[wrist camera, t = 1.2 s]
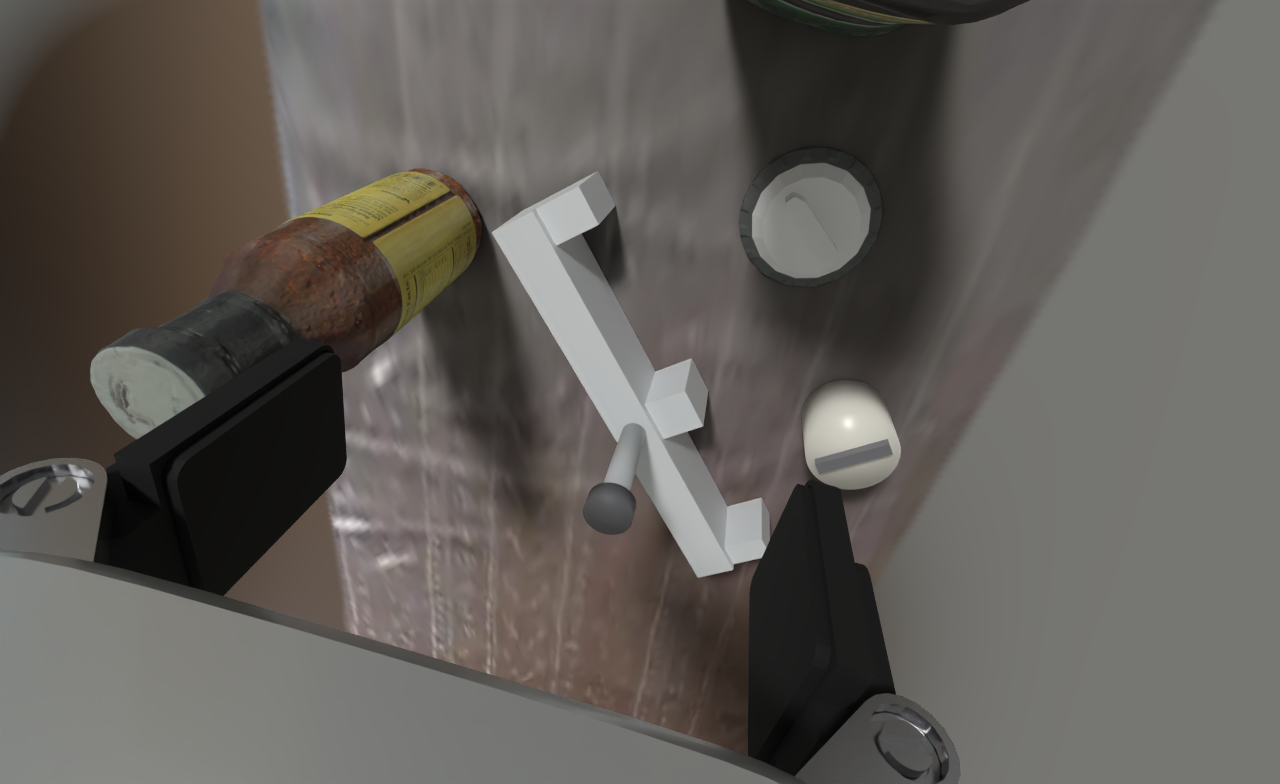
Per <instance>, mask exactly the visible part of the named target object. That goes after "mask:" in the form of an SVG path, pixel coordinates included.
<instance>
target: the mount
mask: <svg viewBox="0 0 1280 784" xmlns="http://www.w3.org/2000/svg"><path fill="white" fill-rule="evenodd" d="M615 206H616V205H615V203H614V201H613V199H612V197H611V195H610V193H609V191H608V189H607V187H606V185H605V183H604V181H603V179H602V177H601V175H600V173H599V171H597V172H595V173H593V174H591V175H589V176H587V177H585V178H584V179H582V180H580V181H578V182H576V183H574V184H572V185H570V186H568V187H567V188H565V189H563V190H561V191H559V192H557V193H555V194H553V195H551V196H549V197H548V198H546V199H544V200H542V201H540V202H538V203H536V204H534V205H532V206H531V207H529V208H527V209H525V210H523V211H521V212H520V213H519V214H517V215H516V216H514V217H513V218H511V219H510V220H509V221H507V222H506V223H504V224H503V225H502V226H500V227H499V228H497V229H496V230H495V231H493V232H492V234H493V236H494V237H495V239H496V241H497V242H498V244H499V246H500V247H501V249H502V251H503V252H504V254H505V256H506V257H507V259H508V261H509V262H510V264H511V266H512V267H513V269H514V271H515V273H516V274H517V276H518V278H519V279H520V281H521V283H522V284H523V286H524V288H525V289H526V291H527V293H528V294H529V296H530V298H531V299H532V301H533V303H534V304H535V306H536V308H537V309H538V311H539V313H540V314H541V316H542V318H543V319H544V321H545V323H546V324H547V326H548V328H549V329H550V331H551V333H552V334H553V336H554V338H555V339H556V341H557V343H558V344H559V346H560V348H561V349H562V351H563V353H564V354H565V356H566V358H567V359H568V361H569V363H570V365H571V366H572V368H573V370H574V371H575V373H576V375H577V376H578V378H579V380H580V381H581V383H582V385H583V386H584V388H585V390H586V391H587V393H588V395H589V396H590V398H591V400H592V401H593V403H594V405H595V406H596V408H597V410H598V411H599V413H600V415H601V416H602V418H603V420H604V421H605V423H606V425H607V426H608V428H609V430H610V431H611V433H612V435H613V436H614V438H615V440H616V441H617V443H618V444H617V446H616V449H615V452H614V455H613V458H612V460H611V463H610V466H609V469H608V472H607V475H606V477H605V480H604V483H600V484H598V485H596V486H594V487H593V488H592V489H591V491H590V492H589V495H588V497H587V500H586V503H585V505H584V508H583V515H584V518H585V520H586V522H587V523H588V524H589V525H590V526H591V527H592V528H593V529H595V530H597V531H599V532H601V533H604V534H612V535H614V534H620V533H623V532H625V531H626V530H627V529H628V528H629V527H630V526H631V524H632V520H633V517H634V513H635V509H636V500H635V498H634V496H633V494H632V493H631V492H630V489H631V486H632V482H633V479H634V476H635V473H636V475H637V477H638V478H639V480H640V482H641V483H642V485H643V487H644V488H645V490H646V492H647V493H648V495H649V497H650V498H651V500H652V502H653V503H654V505H655V507H656V508H657V510H658V512H659V513H660V515H661V517H662V518H663V520H664V522H665V523H666V525H667V527H668V528H669V530H670V532H671V533H672V535H673V537H674V538H675V540H676V542H677V544H678V545H679V547H680V549H681V550H682V552H683V554H684V555H685V557H686V559H687V560H688V562H689V564H690V565H691V567H692V569H693V570H694V572H695V574H696V575H697V577H698V578H699V577H704V576H708V575H713V574H717V573H722V572H726V571H731V570H733V568H734V564H737V563H741V562H746V561H750V560H754V559H759V558H762V556H763V554H764V552H765V550H766V548H767V545H768V543H769V541H770V514H769V512H768V510H767V508H766V506H765V504H764V502H763V500H762V498H758V499H754V500H750V501H747V502H743V503H739V504H735V505H731V506H728V507H727V505H726V503H725V501H724V499H723V497H722V495H721V493H720V492H719V490H718V488H717V486H716V484H715V482H714V480H713V478H712V477H711V475H710V473H709V471H708V469H707V467H706V465H705V464H704V462H703V460H702V458H701V456H700V454H699V452H698V450H697V449H696V447H695V445H694V443H693V441H692V439H691V437H690V435H689V434H688V432H687V431H690V430H694V429H697V428H700V427H703V425H704V418H705V411H706V404H707V397H708V389H707V387H706V385H705V383H704V381H703V379H702V377H701V375H700V373H699V371H698V369H697V367H696V365H695V363H694V361H693V359H692V358H691V359H688V360H685V361H683V362H680V363H677V364H675V365H672V366H669V367H666V368H664V369H661V370H658V371H656V372H655V370H654V368H653V366H652V364H651V362H650V360H649V359H648V357H647V355H646V353H645V351H644V349H643V347H642V345H641V344H640V342H639V340H638V338H637V336H636V334H635V332H634V330H633V329H632V327H631V325H630V323H629V321H628V319H627V317H626V316H625V314H624V312H623V310H622V308H621V306H620V304H619V302H618V301H617V299H616V297H615V295H614V293H613V291H612V289H611V287H610V286H609V284H608V282H607V280H606V278H605V276H604V274H603V272H602V271H601V269H600V267H599V265H598V263H597V261H596V259H595V257H594V256H593V254H592V252H591V250H590V248H589V246H588V244H587V242H586V241H585V239H584V237H583V235H582V233H583V232H585V231H587V230H589V229H591V228H593V227H595V226H597V225H599V224H600V223H601V222H602V221H603V220H604V218H605V217H606V216H607V215H608V214H609V213H610V212H611V210H612V209H613V208H614V207H615Z"/></svg>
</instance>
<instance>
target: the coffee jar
mask: <svg viewBox="0 0 1280 784" xmlns="http://www.w3.org/2000/svg"><path fill="white" fill-rule="evenodd" d="M747 1H748V2H750V3H752V4H754V5H756V6H758V7H760V8H762V9H764V10H766V11H768V12H771V13H773V14H775V15H777V16H780V17H781V18H784V19H788V20H790V21H793V22H796V23H799V24H802V25H805V26H809V27H812V28H816V29H820V30H823V31H828V32H832V33H837V34H844V35H851V36H858V37H871V36H878V35H883V34H886V33H890V32H892V31H895V30H897V29H899V28H901V27H903V26H905V25H907V24H953V25H955V24H964V23H972V22H977V21H980V20H984V19H987V18H990V17H993V16H996V15H998V14H1001V13H1003V12H1005V11H1007V10H1009V9H1011V8H1014V7H1016V6H1018V5H1020V4H1022V3H1025V2H1027V1H1029V0H747Z"/></svg>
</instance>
